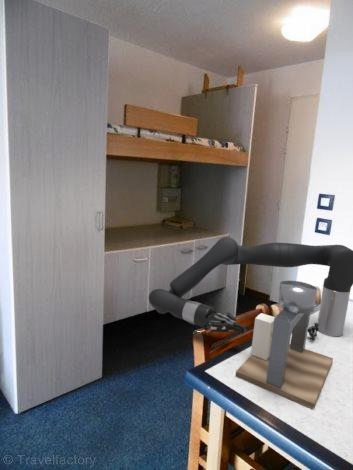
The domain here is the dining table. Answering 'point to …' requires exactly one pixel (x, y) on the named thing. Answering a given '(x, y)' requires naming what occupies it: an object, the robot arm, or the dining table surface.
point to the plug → (262, 336)
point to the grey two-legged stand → (289, 327)
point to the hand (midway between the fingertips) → (245, 330)
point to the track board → (291, 375)
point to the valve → (312, 331)
